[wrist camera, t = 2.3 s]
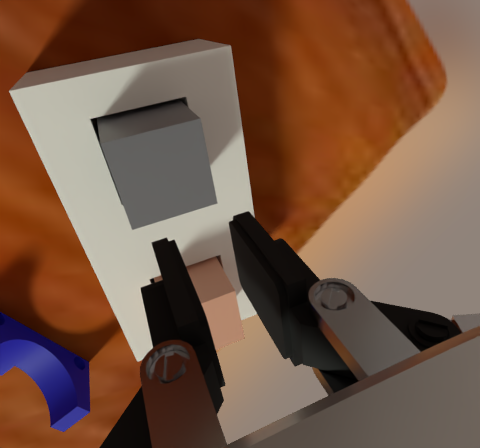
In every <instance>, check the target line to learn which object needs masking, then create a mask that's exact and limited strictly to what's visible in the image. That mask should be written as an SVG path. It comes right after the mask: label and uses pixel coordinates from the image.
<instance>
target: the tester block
mask: <svg viewBox="0 0 480 448" xmlns="http://www.w3.org/2000/svg"><path fill="white" fill-rule="evenodd" d="M9 92H10V94H11V96H12V98H13V100H14V103H15V105H16V107H17V109H18V111H19V113H20V115H21V117H22V119H23V122H24V124H25V126H26V128H27V130H28V132H29V134H30V136H31V138H32V141H33V143H34V145H35V147H36V149H37V151H38V153H39V155H40V157H41V159H42V162H43V164H44V166H45V168H46V170H47V172H48V174H49V176H50V178H51V181H52V183H53V185H54V187H55V189H56V191H57V193H58V195H59V197H60V199H61V202H62V204H63V206H64V208H65V210H66V212H67V214H68V216H69V218H70V221H71V223H72V225H73V227H74V229H75V231H76V233H77V235H78V237H79V240H80V242H81V244H82V246H83V248H84V250H85V252H86V254H87V256H88V258H89V261H90V263H91V265H92V267H93V269H94V271H95V273H96V275H97V277H98V280H99V282H100V284H101V286H102V288H103V290H104V292H105V294H106V296H107V298H108V301H109V303H110V305H111V307H112V309H113V311H114V313H115V315H116V317H117V320H118V322H119V324H120V326H121V328H122V330H123V332H124V334H125V336H126V339H127V341H128V343H129V345H130V347H131V349H132V351H133V353H134V355H135V357H136V360H137V362H138V361H140V360H143V358H144V357H145V356H146V354H147V353H148V352H149V351H150V350H151V349H152V348H153V345H152V341H151V336H150V331H149V327H148V322H147V317H146V313H145V308H144V303H143V299H142V294H141V287H143V286H146V285H149V284H152V283H155V281H154V277H157V276H160V275H161V273H160V270H159V266H158V263H157V260H156V257H155V253H154V250H153V247H152V243H151V242H154V241H157V240H160V239H164V238H167V239H168V241H171V240H175V242H176V244H177V246H178V249H179V251H180V254H181V256H182V258H183V261H184V263H185V266H189V265H192V264H195V263H198V262H200V261H203V260H206V259H209V258H212V257H215V256H216V257H217V259H218V261H219V263H220V265H221V266H222V268H223V270H224V272H225V274H226V275H227V277H228V279H229V281H230V282H231V284H232V286H233V288H234V290H235V293H236V298H237V303H238V308H239V313H240V318H241V320H243V319H246V318H248V317H251V316H253V315H256V314H257V312H256V311H255V309H254V307H253V306H252V304H251V302H250V301H249V299H248V297H247V296H246V294H245V292H244V290H243V289H242V287H241V284H240V281H239V276H238V271H237V266H236V260H235V255H234V250H233V244H232V239H231V234H230V228H229V221H232V220H233V216H235V215H238V214H241V213H244V212H247V211H249V212H250V213H251V214H252V216H253V217H254V218H255V216H254V209H253V202H252V195H251V187H250V180H249V173H248V166H247V158H246V151H245V144H244V137H243V130H242V122H241V115H240V108H239V101H238V93H237V86H236V79H235V72H234V64H233V57H232V50H231V45H226V44H222V43H217V42H212V41H207V40H202V39H196V40H191V41H186V42H180V43H175V44H170V45H165V46H160V47H155V48H150V49H145V50H140V51H135V52H130V53H124V54H119V55H114V56H109V57H104V58H99V59H94V60H89V61H84V62H79V63H74V64H68V65H63V66H58V67H53V68H48V69H43V70H38V71H33V72H28V73H26V74H25V75H24V76H23V77H22V78H21V79H20V80H19V81H18V82H17V83H16V84H15V85H14V86H13V87H12V88H11V89H10V90H9ZM173 99H179V100H180V101H181V102H182V103H183V104H185V105H186V106H187V107H188V108H189V109H190V110H191V111H193V112H194V113H195V114H196V115H197V116H198V117H200V118H201V123H202V128H203V133H204V138H205V143H206V148H207V153H208V158H209V163H210V168H211V173H212V178H213V183H214V188H215V193H216V198H217V204H214V205H211V206H208V207H205V208H201V209H198V210H195V211H192V212H188V213H185V214H182V215H179V216H176V217H172V218H169V219H166V220H163V221H160V222H156V223H153V224H150V225H147V226H144V227H140V228H137V229H134V230H132V228H131V225H130V223H129V220H128V217H127V214H126V212H125V209H124V206H123V204H122V201H121V198H120V195H119V193H118V190H117V187H116V185H115V182H114V179H113V177H112V174H111V171H110V168H109V166H108V163H107V160H106V158H105V155H104V152H103V149H102V147H101V144H100V138H99V131H98V124H97V119H96V117H101V116H105V115H109V114H113V113H118V112H122V111H126V110H131V109H135V108H139V107H143V106H148V105H152V104H156V103H161V102H165V101H169V100H173Z"/></svg>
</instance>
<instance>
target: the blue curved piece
mask: <svg viewBox="0 0 480 448" xmlns="http://www.w3.org/2000/svg"><path fill="white" fill-rule="evenodd" d="M13 366H16V367H18V368H20V369H21V370H23V371H24V372H25V373H27V374H28V375H29V376H30V377H31V378H32V379H33V380H34V381H35V382H36V383H37V385H38V386H39V388H40V389H41V391H42V392H43V394H44V396H45V399H46V401H47V404H48V407H49V411H50V420H51V426H50V427H52V428H55V429H57V430H60V431H62V432H64V431H66V430H67V429H68V428H70V427H71V426H72V425H74V424H75V423H76V422H78V421H79V420H80V419H82V418H83V417H84V416H85V415H87V414H88V413H89V412H90V387H89V362H88V361H86V360H84V359H83V358H81V357H79V356H77V355H76V354H74V353H72V352H70V351H69V350H67V349H65V348H63V347H61V346H60V345H58V344H56V343H54V342H53V341H51V340H49V339H47V338H46V337H44V336H42V335H40V334H39V333H37V332H35V331H33V330H32V329H30V328H28V327H26V326H24V325H23V324H21V323H19V322H17V321H16V320H14V319H12V318H10V317H9V316H7V315H5V314H3V313H2V312H0V375H3V374H4V373H5V372H7V371H8V370H9V369H11V368H12V367H13Z"/></svg>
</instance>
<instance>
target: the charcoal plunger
mask: <svg viewBox="0 0 480 448" xmlns="http://www.w3.org/2000/svg"><path fill="white" fill-rule="evenodd" d="M96 118H97V124H98V131H99V138H100V144H101V147H102V149H103V152H104V155H105V158H106V160H107V163H108V166H109V168H110V171H111V174H112V177H113V179H114V182H115V185H116V187H117V190H118V193H119V195H120V198H121V201H122V204H123V206H124V209H125V212H126V214H127V217H128V220H129V223H130V225H131V228H132V230H134V229H137V228H140V227H144V226H147V225H150V224H153V223H156V222H160V221H163V220H166V219H169V218H172V217H176V216H179V215H182V214H185V213H188V212H192V211H195V210H198V209H201V208H205V207H208V206H211V205H214V204H217V198H216V193H215V188H214V183H213V178H212V173H211V168H210V163H209V158H208V153H207V148H206V143H205V138H204V133H203V128H202V123H201V118H200V117H198V116H197V115H196V114H195V113H194V112H193V111H191V110H190V109H189V108H188V107H187V106H186V105H185V104H183V103H182V102H181V101H180V100H179V99H173V100H169V101H165V102H161V103H156V104H152V105H148V106H143V107H139V108H135V109H131V110H126V111H122V112H118V113H113V114H109V115H105V116H101V117H96Z"/></svg>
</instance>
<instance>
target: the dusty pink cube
mask: <svg viewBox="0 0 480 448" xmlns="http://www.w3.org/2000/svg"><path fill="white" fill-rule="evenodd" d="M186 268H187V271H188V273H189V275H190V278H191V280H192V283H193V285H194V287H195V290H196V292H197V295H198V297H199V299H200V302H201V304H202V307H203V309H204V312H205V314H206V317H207V320H208V324H209V327H210V331H211V334H212V338H213V342H214V345H215V349H216V350H218V349H220V348H223V347H225V346H227V345H230V344H232V343H235V342H237V341H239V340H242V339H244V338H245V337H244V332H243V328H242V322H241V318H240V313H239V308H238V303H237V298H236V293H235V290H234V288H233V286H232V284H231V282H230V281H229V279H228V277H227V275H226V274H225V272H224V270H223V268H222V266H221V265H220V263H219V261H218V259H217V257H216V256H215V257H212V258H209V259H206V260H203V261H200V262H198V263H195V264H192V265H189V266H186ZM161 280H163V279H162V276H161V275H160V276H157V277H154V281H155V282H158V281H161Z"/></svg>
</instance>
